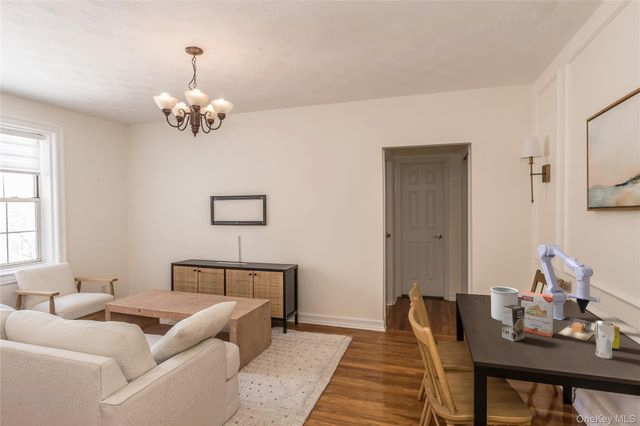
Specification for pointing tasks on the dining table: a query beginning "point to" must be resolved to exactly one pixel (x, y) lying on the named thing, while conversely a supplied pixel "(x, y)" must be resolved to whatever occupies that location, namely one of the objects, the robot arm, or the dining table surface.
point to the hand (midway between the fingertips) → (582, 312)
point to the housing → (587, 323)
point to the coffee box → (513, 322)
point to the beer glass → (604, 339)
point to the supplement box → (616, 338)
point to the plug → (578, 327)
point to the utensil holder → (502, 300)
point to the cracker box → (538, 313)
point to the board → (582, 336)
